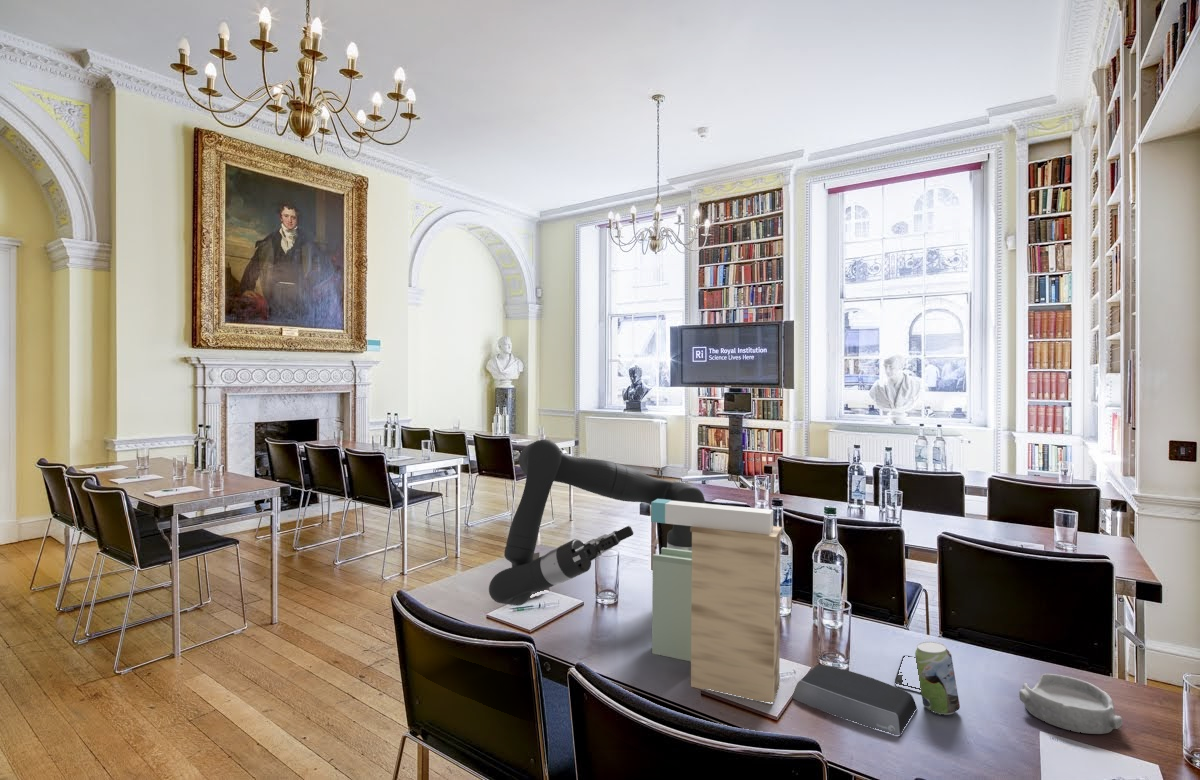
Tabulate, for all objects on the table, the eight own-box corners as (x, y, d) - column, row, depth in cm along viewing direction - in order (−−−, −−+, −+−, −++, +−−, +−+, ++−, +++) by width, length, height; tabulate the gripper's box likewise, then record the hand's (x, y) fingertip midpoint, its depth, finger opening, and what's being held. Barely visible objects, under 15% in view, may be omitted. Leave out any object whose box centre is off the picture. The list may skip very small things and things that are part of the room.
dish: (1016, 717, 109) (1016, 690, 109) (1026, 689, 119) (1026, 664, 119) (1121, 750, 99) (1121, 721, 99) (1122, 716, 110) (1122, 689, 110)
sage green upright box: (662, 641, 140) (662, 547, 140) (712, 651, 135) (713, 553, 135) (652, 653, 134) (652, 555, 134) (704, 664, 129) (705, 562, 129)
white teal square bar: (657, 517, 127) (657, 498, 127) (773, 529, 117) (773, 509, 117) (651, 521, 124) (651, 502, 124) (769, 534, 114) (770, 513, 113)
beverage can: (965, 721, 108) (966, 655, 107) (920, 716, 109) (921, 651, 109) (951, 702, 114) (952, 640, 114) (910, 698, 115) (910, 637, 115)
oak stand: (700, 668, 127) (701, 518, 127) (781, 685, 120) (782, 527, 120) (689, 687, 119) (690, 527, 119) (774, 706, 112) (775, 537, 112)
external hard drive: (898, 742, 102) (898, 719, 102) (790, 702, 115) (790, 680, 115) (918, 711, 112) (919, 690, 112) (816, 677, 125) (816, 657, 125)
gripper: (543, 554, 128) (603, 525, 123) (572, 539, 141) (628, 512, 136) (557, 587, 127) (619, 559, 121) (586, 569, 140) (643, 542, 134)
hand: (624, 534), depth 128 cm, fingers open, 8 cm apart
